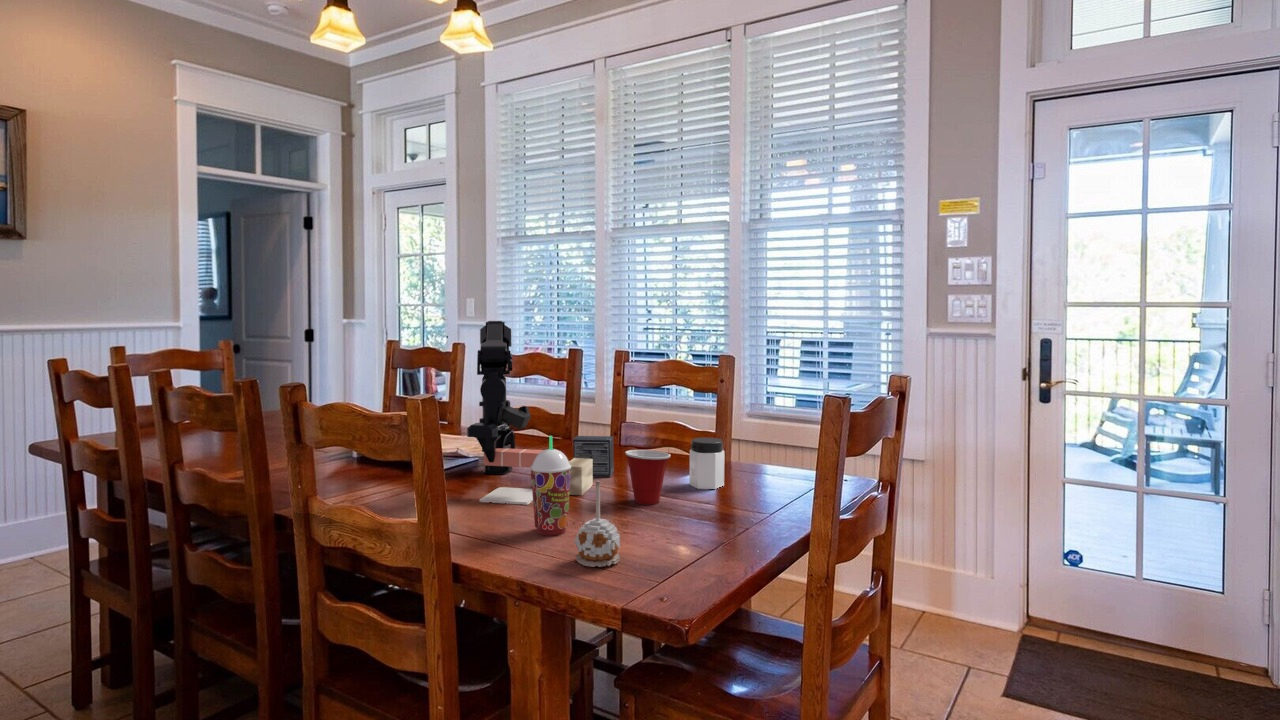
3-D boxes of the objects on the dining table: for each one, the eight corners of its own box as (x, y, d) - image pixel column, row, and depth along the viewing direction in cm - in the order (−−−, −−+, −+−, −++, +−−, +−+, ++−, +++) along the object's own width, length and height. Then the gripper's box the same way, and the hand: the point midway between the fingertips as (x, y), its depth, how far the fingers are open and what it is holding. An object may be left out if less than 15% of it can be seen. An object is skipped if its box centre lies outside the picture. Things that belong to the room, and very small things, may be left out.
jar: (684, 483, 191) (685, 438, 190) (712, 480, 194) (712, 436, 194) (700, 491, 183) (701, 444, 182) (728, 488, 186) (729, 442, 185)
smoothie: (554, 540, 145) (554, 441, 143) (522, 533, 149) (521, 437, 147) (579, 529, 152) (579, 434, 150) (548, 523, 156) (547, 431, 155)
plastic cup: (679, 503, 172) (679, 453, 171) (640, 510, 166) (640, 458, 165) (655, 493, 181) (655, 445, 180) (617, 499, 175) (617, 450, 175)
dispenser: (539, 492, 181) (539, 465, 181) (552, 483, 191) (552, 456, 190) (581, 495, 179) (581, 467, 178) (592, 485, 189) (592, 458, 188)
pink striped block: (483, 465, 176) (483, 450, 176) (490, 461, 180) (490, 447, 180) (538, 467, 173) (538, 453, 173) (544, 464, 177) (544, 450, 177)
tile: (479, 501, 173) (479, 499, 173) (499, 489, 184) (499, 487, 184) (527, 504, 170) (527, 502, 170) (544, 492, 182) (544, 489, 182)
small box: (614, 472, 204) (614, 435, 203) (611, 477, 197) (611, 439, 197) (577, 471, 205) (576, 434, 204) (572, 476, 198) (572, 438, 198)
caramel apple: (568, 565, 131) (568, 483, 130) (589, 552, 138) (588, 474, 137) (607, 572, 128) (607, 488, 127) (626, 558, 135) (626, 478, 134)
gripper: (511, 403, 166) (511, 470, 167) (538, 393, 184) (539, 454, 185) (465, 401, 168) (466, 468, 169) (497, 392, 186) (498, 452, 187)
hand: (495, 460), depth 178 cm, fingers closed on pink striped block, 4 cm apart
